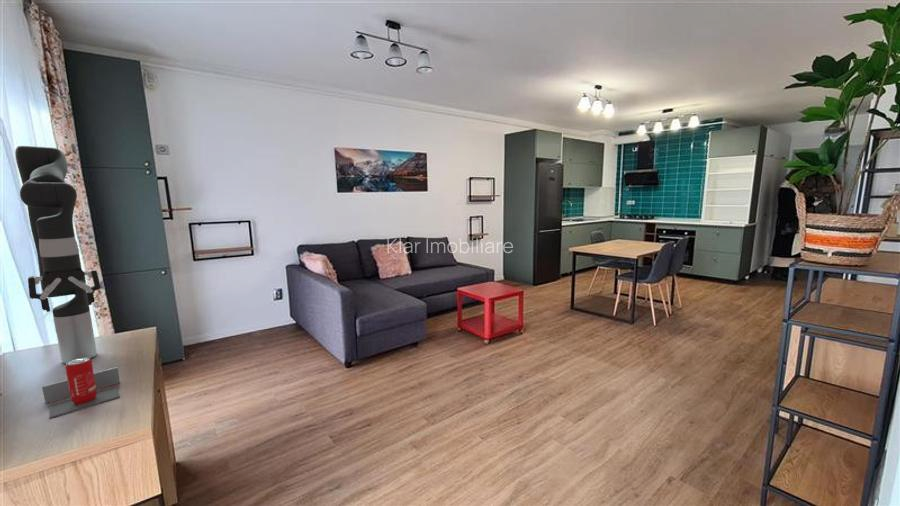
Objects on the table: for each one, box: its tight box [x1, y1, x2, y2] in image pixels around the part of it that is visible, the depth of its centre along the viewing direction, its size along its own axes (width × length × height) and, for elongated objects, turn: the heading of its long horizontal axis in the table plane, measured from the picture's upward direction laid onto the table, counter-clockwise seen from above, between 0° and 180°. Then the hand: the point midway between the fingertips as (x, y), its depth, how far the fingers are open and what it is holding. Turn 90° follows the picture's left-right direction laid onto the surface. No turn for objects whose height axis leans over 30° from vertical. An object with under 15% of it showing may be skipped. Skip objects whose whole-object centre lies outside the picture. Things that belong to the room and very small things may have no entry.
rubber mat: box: [48, 385, 121, 419], centre depth 105 cm, size 9×14×1 cm, turn 137°
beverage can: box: [65, 358, 98, 405], centre depth 104 cm, size 5×5×12 cm
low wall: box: [41, 366, 121, 404], centre depth 110 cm, size 1×16×5 cm, turn 137°
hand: (69, 307), depth 107 cm, fingers open, 8 cm apart
